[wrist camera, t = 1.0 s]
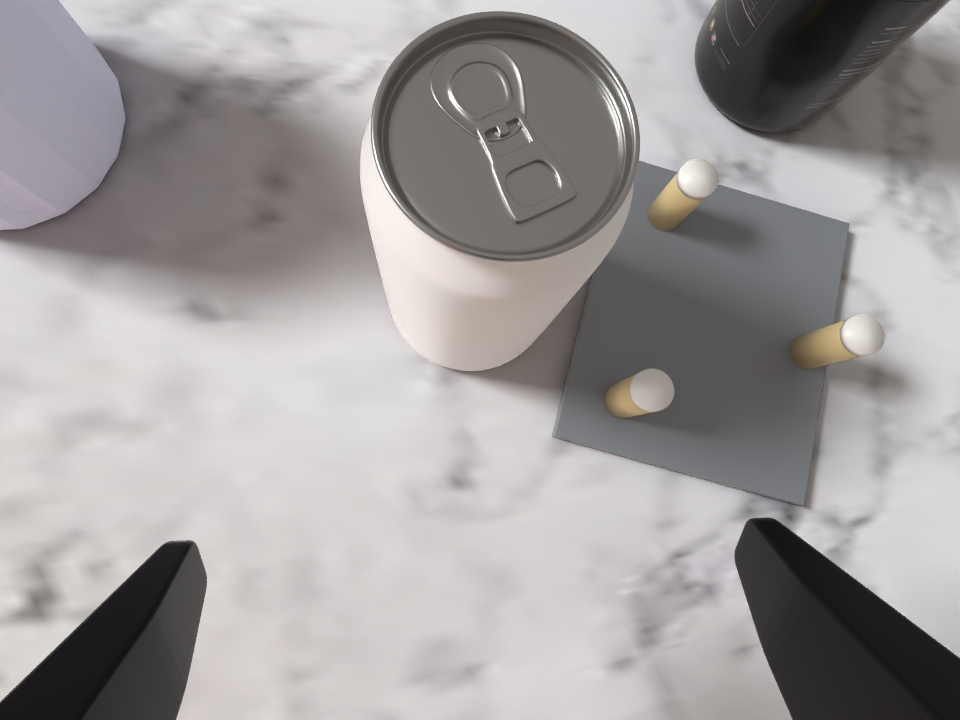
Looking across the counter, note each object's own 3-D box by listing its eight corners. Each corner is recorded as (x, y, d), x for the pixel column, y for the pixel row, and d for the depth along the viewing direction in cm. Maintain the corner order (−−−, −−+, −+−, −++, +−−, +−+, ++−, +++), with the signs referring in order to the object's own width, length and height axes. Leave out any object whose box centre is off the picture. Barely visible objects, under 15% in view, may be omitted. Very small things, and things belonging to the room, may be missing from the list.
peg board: (794, 504, 24) (865, 512, 20) (552, 436, 23) (576, 431, 20) (839, 229, 26) (910, 188, 22) (619, 163, 26) (652, 110, 22)
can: (502, 193, 25) (568, -49, 13) (577, 329, 24) (716, 201, 13) (360, 258, 24) (295, 58, 12) (433, 402, 23) (437, 337, 12)
